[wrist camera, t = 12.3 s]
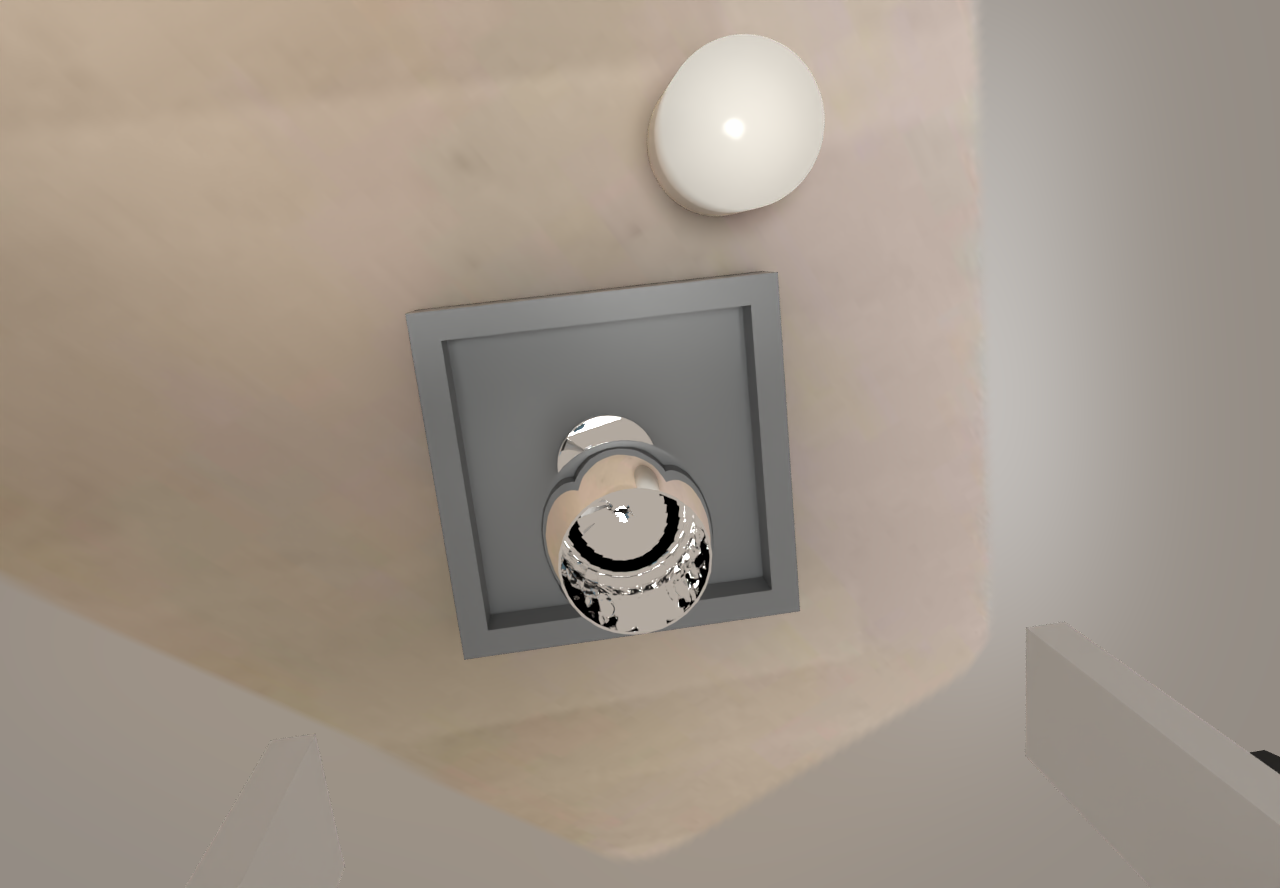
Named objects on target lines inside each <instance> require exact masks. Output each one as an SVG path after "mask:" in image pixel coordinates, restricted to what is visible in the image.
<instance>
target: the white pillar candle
mask: <svg viewBox="0 0 1280 888" xmlns="http://www.w3.org/2000/svg"><path fill="white" fill-rule="evenodd" d="M823 134H824V107H823V101H822V97H821V93H820V90H819V88H818V85H817V82H816V81H815V79H814V77H813V75H812V73H811V71H810V70H809V69H808V67H807V66H806V64H805V63H804V62H803V61H802V60H801V59H800V58H799V57H798V56H797V55H796V54H795V53H794V52H793V51H791V50H790V49H789V48H787V47H786V46H784V45H783V44H781V43H779V42H777V41H775V40H772V39H770V38H767V37H763V36H759V35H752V34H736V35H730V36H725V37H722V38H719V39H716V40H714V41H712V42H710V43H708V44H706V45H704V46H703V47H701V48H700V49H698V50H697V51H696V52H695V53H693V54H692V55H691V56H690V57H689V58H688V59H687V60H686V61H685V62H684V64H683V65H682V66H681V67H680V69H679V70H678V72H677V73H676V75H675V76H674V78H673V79H672V81H671V82H670V84H669V85H668V87H667V88H666V90H665V91H664V93H663V94H662V96H661V97H660V99H659V101H658V102H657V104H656V106H655V108H654V110H653V113H652V115H651V118H650V122H649V127H648V133H647V151H648V157H649V162H650V165H651V168H652V171H653V173H654V176H655V178H656V180H657V181H658V183H659V185H660V186H661V187H662V189H663V190H664V191H665V193H666V194H667V195H668V196H669V197H670V198H671V199H672V200H673V201H675V202H676V203H678V204H679V205H680V206H682V207H684V208H686V209H687V210H689V211H692V212H695V213H697V214H701V215H706V216H727V215H732V214H736V213H740V212H744V211H748V210H752V209H756V208H760V207H763V206H766V205H770V204H772V203H774V202H776V201H778V200H780V199H782V198H783V197H785V196H786V195H788V194H789V193H791V192H792V191H793V190H794V189H795V188H796V187H798V185H799V184H800V183H801V182H802V181H803V180H804V179H805V177H806V176H807V175H808V173H809V172H810V170H811V169H812V167H813V165H814V163H815V161H816V159H817V156H818V154H819V151H820V148H821V144H822V140H823Z"/></svg>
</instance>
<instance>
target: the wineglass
mask: <svg viewBox="0 0 1280 888" xmlns="http://www.w3.org/2000/svg"><path fill="white" fill-rule="evenodd" d="M556 464H557V475H556V477H555V478H554V479H553V481H552V483H551V485H550V486H549V488H548V491H547V493H546V496H545V498H544V501H543V504H542V508H541V514H540V542H541V548H542V552H543V555H544V559H545V562H546V565H547V568H548V570H549V572H550V575H551V577H552V578H553V580H554V582H555V584H556V585H557V587H558V589H559V590H560V592H561V593H562V594H563V596H564V597H565V598H566V600H567V601H568V602H569V604H570V605H571V606H572V607H573V608H574V609H575V610H576V611H577V612H578V613H579V614H580V615H581V616H582V617H583V618H585V619H586V620H588V621H589V622H591V623H592V624H594V625H595V626H597V627H599V628H602V629H604V630H607V631H610V632H614V633H620V634H633V635H636V634H644V633H650V632H653V631H657V630H660V629H663V628H665V627H667V626H669V625H671V624H673V623H675V622H676V621H678V620H679V619H680V618H682V617H683V616H684V615H686V614H687V613H688V612H689V611H690V610H691V609H692V608H693V606H694V605H695V604H696V603H697V602H698V601H699V599H700V597H701V596H702V594H703V592H704V590H705V589H706V586H707V583H708V580H709V577H710V574H711V570H712V563H713V556H714V528H713V521H712V515H711V511H710V508H709V504H708V500H707V498H706V496H705V494H704V492H703V490H702V488H701V486H700V484H699V482H698V481H697V479H696V478H695V476H694V475H693V474H692V473H691V471H690V470H689V469H688V468H687V467H686V466H685V465H684V464H683V463H682V462H681V461H680V460H679V459H677V458H676V457H674V456H673V455H671V454H670V453H668V452H666V451H665V450H663V449H661V448H659V447H657V446H655V445H654V443H653V441H652V439H651V437H650V436H649V434H648V433H647V432H646V431H645V430H644V429H643V427H641V426H640V425H639V424H638V423H636V422H635V421H633V420H630V419H628V418H626V417H623V416H619V415H612V414H604V415H596V416H593V417H590V418H587V419H585V420H583V421H582V422H580V423H578V424H577V425H575V426H574V427H573V428H572V429H571V430H570V431H569V432H568V433H567V435H566V436H565V438H564V439H563V441H562V443H561V445H560V448H559V451H558V455H557V462H556Z"/></svg>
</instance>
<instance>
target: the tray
mask: <svg viewBox="0 0 1280 888" xmlns="http://www.w3.org/2000/svg"><path fill="white" fill-rule="evenodd" d="M405 315H406V321H407V326H408V332H409V338H410V344H411V350H412V356H413V362H414V367H415V373H416V379H417V385H418V391H419V397H420V403H421V408H422V414H423V420H424V426H425V432H426V438H427V444H428V449H429V455H430V461H431V467H432V473H433V479H434V485H435V490H436V496H437V502H438V508H439V514H440V520H441V526H442V531H443V537H444V543H445V549H446V555H447V561H448V567H449V572H450V578H451V584H452V590H453V596H454V602H455V607H456V613H457V619H458V625H459V631H460V637H461V643H462V648H463V654H464V660H466V659H472V658H479V657H486V656H493V655H500V654H507V653H514V652H521V651H528V650H535V649H542V648H549V647H555V646H562V645H569V644H576V643H583V642H590V641H597V640H604V639H611V638H618V637H625V636H632V635H633V634H620V633H614V632H610V631H607V630H604V629H602V628H599V627H597V626H595V625H594V624H592V623H591V622H589V621H588V620H586V619H585V618H583V617H582V616H581V615H580V614H579V613H578V612H577V611H576V610H575V609H574V608H573V607H572V606H571V605H570V604H569V602H568V601H567V600H566V598H565V597H564V596H563V594H562V593H561V592H560V590H559V589H558V587H557V585H556V584H555V582H554V580H553V578H552V577H551V575H550V572H549V570H548V568H547V565H546V562H545V559H544V555H543V552H542V548H541V542H540V514H541V508H542V504H543V501H544V498H545V496H546V493H547V491H548V488H549V486H550V485H551V483H552V481H553V479H554V478H555V477H556V475H557V464H556V462H557V455H558V451H559V448H560V445H561V443H562V441H563V439H564V438H565V436H566V435H567V433H568V432H569V431H570V430H571V429H572V428H573V427H574V426H575V425H577V424H578V423H580V422H582V421H583V420H585V419H587V418H590V417H593V416H596V415H604V414H612V415H619V416H623V417H626V418H628V419H630V420H633V421H635V422H636V423H638V424H639V425H640V426H641V427H643V429H644V430H645V431H646V432H647V433H648V434H649V436H650V437H651V439H652V441H653V443H654V445H655V446H657V447H659V448H661V449H663V450H665V451H666V452H668V453H670V454H671V455H673V456H674V457H676V458H677V459H679V460H680V461H681V462H682V463H683V464H684V465H685V466H686V467H687V468H688V469H689V470H690V471H691V473H692V474H693V475H694V476H695V478H696V479H697V481H698V482H699V484H700V486H701V488H702V490H703V492H704V494H705V496H706V498H707V500H708V504H709V508H710V511H711V515H712V521H713V528H714V556H713V563H712V570H711V574H710V577H709V580H708V583H707V586H706V589H705V590H704V592H703V594H702V596H701V597H700V599H699V601H698V602H697V603H696V604H695V605H694V606H693V608H692V609H691V610H690V611H689V612H688V613H687V614H686V615H684V616H683V617H682V618H680V619H679V620H678V621H676V622H675V623H673V624H671V625H669V626H667V627H665V628H663V629H660V630H657V631H653V632H659V631H666V630H673V629H680V628H687V627H694V626H701V625H708V624H715V623H722V622H728V621H735V620H742V619H749V618H756V617H763V616H770V615H777V614H784V613H791V612H798V611H800V605H799V590H798V574H797V559H796V544H795V529H794V514H793V498H792V483H791V468H790V453H789V437H788V422H787V407H786V392H785V377H784V361H783V346H782V331H781V316H780V301H779V285H778V272H766V271H760V272H751V273H742V274H733V275H724V276H715V277H706V278H697V279H688V280H680V281H671V282H662V283H653V284H644V285H635V286H626V287H617V288H608V289H599V290H590V291H582V292H573V293H564V294H555V295H546V296H537V297H528V298H519V299H510V300H501V301H492V302H483V303H475V304H466V305H457V306H448V307H439V308H430V309H421V310H415V311H412V312H409V313H407V314H405ZM650 633H652V632H650ZM644 634H645V633H644ZM636 635H639V634H636Z"/></svg>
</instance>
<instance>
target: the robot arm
mask: <svg viewBox="0 0 1280 888" xmlns="http://www.w3.org/2000/svg"><path fill="white" fill-rule="evenodd" d="M1025 747H1026V749H1025V753H1026V754H1025V756H1026V757H1027V758H1028V759H1029V760H1030V761H1031V763H1032V764H1034V766H1035V767H1036V768H1037V769H1038V770H1039V771H1040V772H1041V773H1042V774H1043V775H1044V776H1045V777H1046V778H1047V779H1048V780H1049V781H1050V783H1051V784H1052V785H1053V786H1054V787H1055V788H1056V789H1057V790H1058V791H1059V792H1060V793H1061V794H1062V795H1063V796H1064V797H1065V798H1066V799H1067V800H1068V801H1069V802H1070V804H1071V805H1073V807H1074V808H1075V809H1076V810H1077V811H1078V812H1079V813H1080V814H1081V815H1082V816H1083V817H1084V818H1085V819H1086V820H1087V821H1088V822H1089V824H1090V825H1091V826H1092V827H1093V828H1094V829H1095V830H1096V831H1097V832H1098V833H1099V834H1100V835H1101V836H1102V837H1103V838H1104V839H1105V840H1106V841H1107V843H1108V844H1109V845H1110V846H1111V847H1112V848H1113V849H1114V850H1115V851H1116V852H1117V853H1118V854H1119V855H1120V856H1121V857H1122V858H1123V859H1124V860H1125V862H1126V863H1127V864H1128V865H1129V866H1130V867H1131V868H1132V869H1133V870H1134V871H1135V872H1136V873H1137V874H1138V875H1139V876H1140V877H1141V878H1142V879H1143V880H1144V881H1145V883H1146V884H1147V885H1148V886H1149V887H1150V888H1280V757H1279V756H1277V755H1274V754H1272V753H1270V752H1268V751H1265V750H1262V751H1257V752H1250V753H1249V752H1248V751H1246V750H1245V749H1243V748H1242V747H1240V746H1239V745H1238V744H1236V743H1235V742H1234V741H1232V740H1231V739H1229V738H1228V737H1227V736H1225V735H1224V734H1222V733H1221V732H1219V731H1218V730H1217V729H1215V728H1214V727H1212V726H1211V725H1210V724H1208V723H1207V722H1205V721H1204V720H1202V719H1201V718H1200V717H1198V716H1197V715H1195V714H1194V713H1193V712H1191V711H1190V710H1188V709H1187V708H1186V707H1184V706H1183V705H1181V704H1180V703H1179V702H1177V701H1175V700H1174V699H1173V698H1172V697H1170V696H1169V695H1167V694H1166V693H1165V692H1163V691H1162V690H1160V689H1159V688H1157V687H1156V686H1155V685H1153V684H1152V683H1150V682H1149V681H1148V680H1146V679H1145V678H1143V677H1142V676H1140V675H1139V674H1138V673H1136V672H1135V671H1133V670H1132V669H1131V668H1129V667H1128V666H1126V665H1125V664H1124V663H1122V662H1121V661H1119V660H1118V659H1116V658H1115V657H1114V656H1112V655H1111V654H1110V653H1108V652H1107V651H1105V650H1104V649H1102V648H1101V647H1100V646H1098V645H1097V644H1095V643H1094V642H1093V641H1091V640H1090V639H1088V638H1087V637H1085V636H1084V635H1083V634H1081V633H1080V632H1078V631H1077V630H1076V629H1074V628H1073V627H1072V626H1070V625H1069V624H1067V623H1066V622H1059V623H1053V624H1046V625H1039V626H1032V627H1026V743H1025ZM344 868H345V864H344V860H343V856H342V851H341V847H340V842H339V837H338V833H337V828H336V824H335V819H334V815H333V810H332V806H331V801H330V797H329V792H328V788H327V783H326V779H325V774H324V770H323V765H322V760H321V756H320V751H319V747H318V743H317V738H316V734H310V735H303V736H296V737H289V738H283V739H276V740H271V741H270V743H269V744H268V746H267V748H266V750H265V751H264V753H263V755H262V757H261V758H260V760H259V762H258V763H257V765H256V767H255V768H254V770H253V772H252V774H251V775H250V777H249V779H248V780H247V782H246V784H245V785H244V787H243V789H242V791H241V792H240V794H239V796H238V798H237V799H236V801H235V803H234V804H233V806H232V808H231V809H230V811H229V813H228V814H227V816H226V818H225V820H224V821H223V823H222V825H221V827H220V828H219V830H218V831H217V833H216V835H215V837H214V838H213V840H212V842H211V844H210V845H209V847H208V849H207V850H206V852H205V854H204V855H203V857H202V859H201V861H200V862H199V864H198V866H197V867H196V869H195V871H194V872H193V874H192V876H191V878H190V879H189V881H188V883H187V884H186V886H185V888H338V885H339V882H340V879H341V877H342V873H343V871H344Z"/></svg>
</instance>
